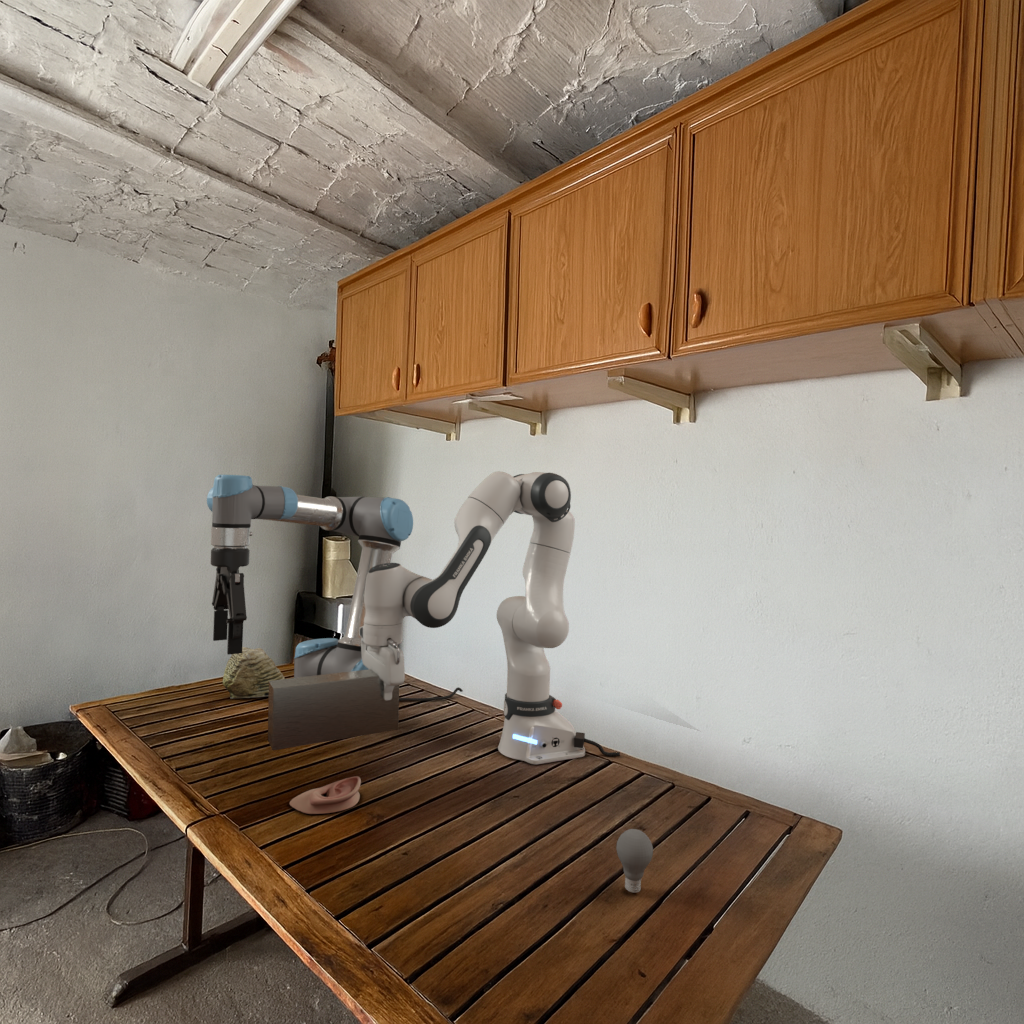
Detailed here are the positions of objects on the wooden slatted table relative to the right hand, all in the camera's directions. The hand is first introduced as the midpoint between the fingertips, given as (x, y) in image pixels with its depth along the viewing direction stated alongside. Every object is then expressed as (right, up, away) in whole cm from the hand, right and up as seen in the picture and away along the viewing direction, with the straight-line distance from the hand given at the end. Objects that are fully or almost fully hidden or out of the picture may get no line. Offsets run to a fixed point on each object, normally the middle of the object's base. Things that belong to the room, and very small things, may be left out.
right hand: (381, 694), depth 145 cm
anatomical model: (-9, -19, -14) cm, 25 cm away
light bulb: (+50, -22, -39) cm, 67 cm away
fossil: (-51, -16, +53) cm, 75 cm away
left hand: (-31, +13, -10) cm, 35 cm away
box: (-9, -8, -5) cm, 13 cm away
